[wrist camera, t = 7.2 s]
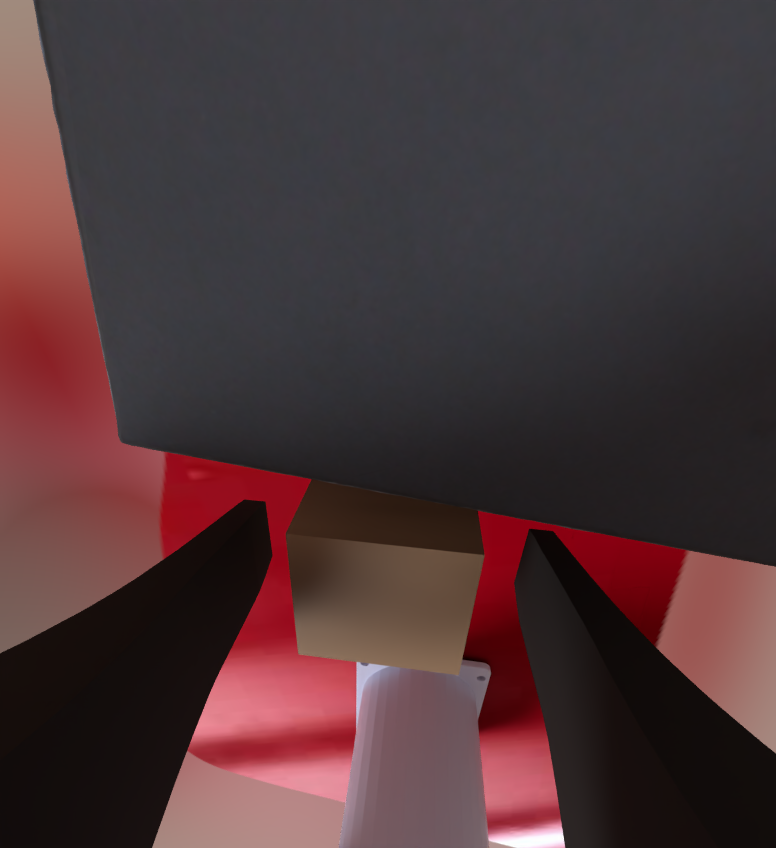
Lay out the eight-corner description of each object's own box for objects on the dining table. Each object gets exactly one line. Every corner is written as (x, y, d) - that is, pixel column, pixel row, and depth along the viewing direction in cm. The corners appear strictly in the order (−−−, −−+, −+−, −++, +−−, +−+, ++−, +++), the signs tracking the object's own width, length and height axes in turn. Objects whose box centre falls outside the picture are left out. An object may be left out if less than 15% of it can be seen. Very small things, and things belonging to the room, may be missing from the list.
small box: (674, 152, 11) (1714, -155, 2) (589, 361, 14) (866, 606, 5) (323, 98, 12) (-94, -379, 2) (313, 314, 15) (110, 469, 5)
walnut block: (450, 531, 14) (458, 675, 9) (340, 520, 14) (298, 654, 10) (465, 433, 12) (484, 555, 8) (338, 423, 12) (285, 533, 8)
